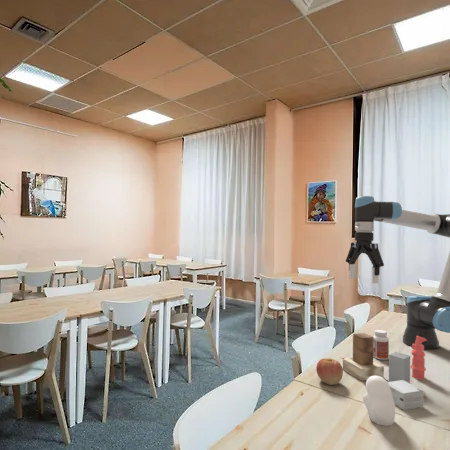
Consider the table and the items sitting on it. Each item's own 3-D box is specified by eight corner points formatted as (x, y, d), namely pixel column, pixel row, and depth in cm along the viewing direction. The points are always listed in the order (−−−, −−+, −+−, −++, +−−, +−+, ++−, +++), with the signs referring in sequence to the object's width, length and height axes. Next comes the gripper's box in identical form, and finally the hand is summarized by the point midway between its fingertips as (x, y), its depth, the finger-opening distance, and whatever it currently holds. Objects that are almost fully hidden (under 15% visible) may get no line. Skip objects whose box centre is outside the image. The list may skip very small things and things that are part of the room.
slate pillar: (395, 379, 120) (395, 351, 120) (410, 384, 116) (410, 355, 116) (388, 383, 117) (389, 354, 117) (403, 388, 113) (404, 358, 113)
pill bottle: (391, 358, 140) (391, 332, 141) (383, 361, 137) (383, 334, 137) (377, 354, 146) (378, 328, 146) (369, 356, 142) (369, 330, 143)
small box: (383, 398, 106) (383, 381, 106) (403, 395, 108) (404, 379, 109) (403, 410, 99) (403, 393, 99) (424, 407, 101) (424, 390, 101)
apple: (329, 390, 110) (329, 365, 111) (310, 379, 118) (311, 356, 118) (348, 385, 114) (348, 361, 115) (329, 375, 122) (329, 353, 122)
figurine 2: (424, 375, 124) (425, 334, 124) (428, 381, 119) (428, 338, 120) (409, 373, 126) (409, 333, 126) (411, 378, 121) (412, 337, 121)
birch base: (363, 366, 131) (364, 356, 131) (383, 377, 122) (383, 366, 122) (342, 369, 128) (342, 358, 128) (361, 380, 118) (361, 369, 118)
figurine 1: (360, 413, 97) (361, 371, 97) (385, 412, 97) (386, 370, 97) (373, 427, 89) (374, 382, 90) (400, 426, 90) (401, 381, 90)
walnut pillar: (363, 359, 128) (363, 332, 128) (373, 364, 123) (373, 336, 124) (352, 360, 126) (353, 334, 127) (362, 365, 122) (362, 338, 122)
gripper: (338, 231, 156) (337, 277, 156) (379, 231, 133) (378, 285, 132) (351, 231, 159) (350, 276, 158) (393, 232, 135) (393, 285, 135)
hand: (363, 280), depth 145 cm, fingers open, 13 cm apart
